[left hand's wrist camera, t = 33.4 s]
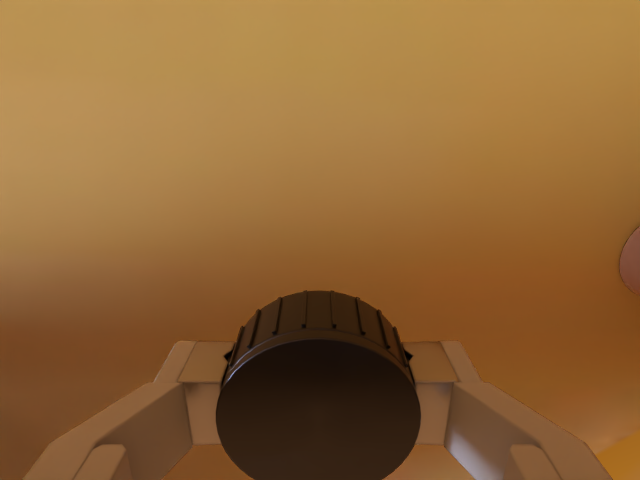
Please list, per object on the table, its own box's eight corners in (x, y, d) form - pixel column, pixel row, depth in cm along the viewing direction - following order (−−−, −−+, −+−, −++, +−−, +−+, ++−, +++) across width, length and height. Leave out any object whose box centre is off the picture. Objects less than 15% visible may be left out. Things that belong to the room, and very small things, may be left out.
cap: (371, 445, 11) (382, 514, 9) (215, 409, 11) (194, 476, 9) (432, 314, 10) (458, 367, 8) (253, 266, 9) (237, 311, 7)
